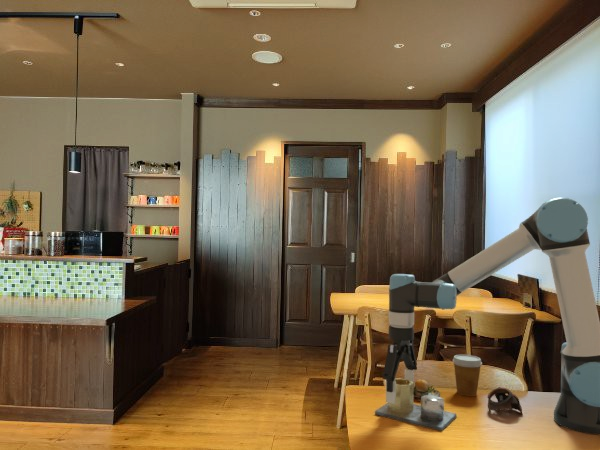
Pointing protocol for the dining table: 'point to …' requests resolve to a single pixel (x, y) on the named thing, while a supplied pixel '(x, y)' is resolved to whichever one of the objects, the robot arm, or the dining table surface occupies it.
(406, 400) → the sleeve
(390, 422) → the dining table surface
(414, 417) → the plate
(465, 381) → the disposable coffee cup
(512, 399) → the pottery mug
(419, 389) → the burger
